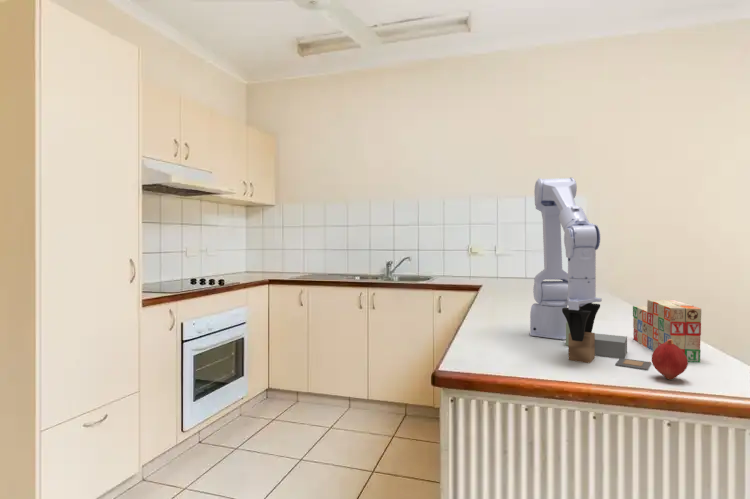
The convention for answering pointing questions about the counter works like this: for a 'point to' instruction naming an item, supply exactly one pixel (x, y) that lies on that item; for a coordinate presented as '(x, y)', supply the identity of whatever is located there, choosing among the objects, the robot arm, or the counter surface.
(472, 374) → the counter surface
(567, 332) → the sage block
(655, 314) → the stack of blocks
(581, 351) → the walnut block
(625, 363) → the card
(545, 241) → the robot arm
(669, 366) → the onion
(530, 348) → the counter surface
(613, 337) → the slate base block
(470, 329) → the counter surface
